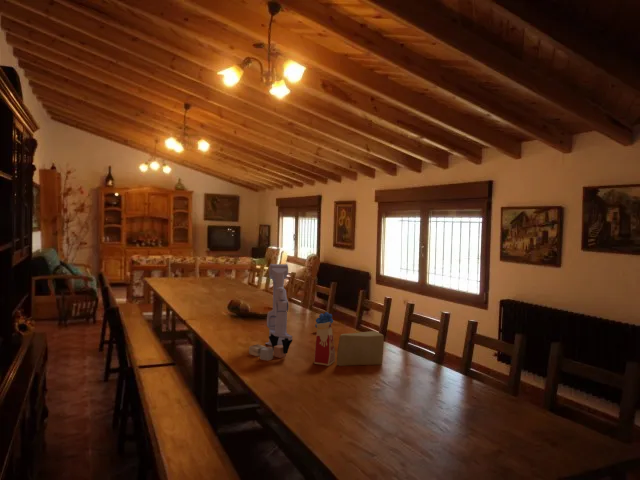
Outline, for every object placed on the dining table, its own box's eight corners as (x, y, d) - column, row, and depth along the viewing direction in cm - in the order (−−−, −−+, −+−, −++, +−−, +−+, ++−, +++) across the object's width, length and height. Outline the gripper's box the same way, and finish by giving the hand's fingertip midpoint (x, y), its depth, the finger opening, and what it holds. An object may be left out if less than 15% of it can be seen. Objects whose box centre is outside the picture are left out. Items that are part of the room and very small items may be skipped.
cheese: (341, 368, 225) (342, 337, 224) (333, 362, 234) (334, 332, 233) (383, 365, 233) (384, 334, 232) (374, 359, 242) (375, 329, 241)
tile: (269, 347, 256) (269, 346, 256) (278, 350, 251) (278, 349, 251) (259, 349, 250) (259, 348, 250) (268, 352, 246) (268, 351, 246)
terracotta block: (280, 354, 244) (280, 344, 244) (286, 356, 241) (286, 346, 241) (273, 356, 241) (273, 346, 241) (279, 358, 238) (280, 348, 238)
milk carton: (335, 360, 237) (336, 320, 236) (329, 366, 228) (331, 324, 227) (317, 358, 240) (319, 318, 239) (311, 363, 231) (312, 322, 230)
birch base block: (257, 351, 248) (257, 344, 247) (265, 354, 244) (266, 346, 244) (248, 354, 243) (249, 346, 243) (257, 356, 239) (257, 348, 239)
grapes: (330, 329, 302) (330, 310, 301) (334, 332, 295) (335, 312, 295) (312, 330, 297) (313, 310, 297) (316, 332, 291) (317, 313, 291)
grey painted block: (265, 357, 239) (265, 347, 239) (272, 358, 237) (273, 348, 237) (260, 359, 235) (260, 349, 235) (267, 360, 233) (268, 350, 233)
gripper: (265, 323, 242) (264, 350, 243) (285, 328, 233) (284, 356, 233) (275, 321, 247) (274, 347, 248) (295, 326, 238) (294, 353, 239)
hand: (280, 351), depth 241 cm, fingers open, 7 cm apart
